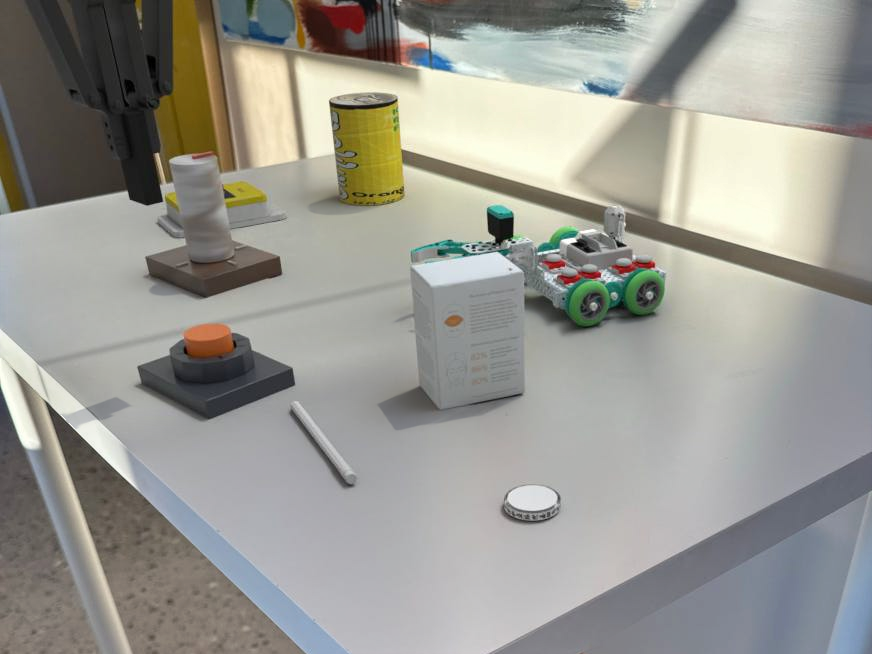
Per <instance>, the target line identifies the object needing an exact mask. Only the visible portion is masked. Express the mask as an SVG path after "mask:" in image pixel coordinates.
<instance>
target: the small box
mask: <svg viewBox="0 0 872 654" xmlns="http://www.w3.org/2000/svg"><path fill="white" fill-rule="evenodd" d="M449 259H450V260H448V259H443V260H444V261H441V260H437V261H438V262H432V263H426V264H425V263H421V264H420V263H419V264H414V265H411V266H410V269H409V272H410V287H411V297H412V309H413V311H412V312H413V323H414V325H413V326H414V335H415V348H416V361H417V362H416V363H417V373H418V383H419V386H420V388H421V389H422V390H423V392H424V393H425V394H426V395H427V396H428V398H430V400H431V401H432V402H433V403H434V405H435V406H436V408H438V410H440V411H442V410H447V409H452V408H458V407H462V406H467V405H472V404H477V403H482V402H486V401H492V400H497V399H501V398H506V397H512V396H515V395H521V394H524V393H525V392H526V381H525V380H526V373H525V372H526V371H525V367H526V365H525V364H526V363H525V359H526V357H525V355H526V354H525V282H524V272H523V271H522V270H521V269H519V268H518V267H517V266H516V265H514V264H513V263H512V262H510V261H509V260H508V259H506V258H505V257H504V256H502V255H501V254H500V253H498V252H493V253H487V254H481V255H478V254H477V255H475V256H469V257H463V258H457V259H452V258H449Z"/></svg>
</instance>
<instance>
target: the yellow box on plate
mask: <svg viewBox="0 0 872 654" xmlns="http://www.w3.org/2000/svg"><path fill="white" fill-rule="evenodd" d="M222 188H223V193H224V199H225V204H226V210H227V215H228V221H229V226H230V230H232V229H239V228H243V227H250V226H255V225H260V224H266V223H271V222H277V221H281V220H282V221H283V220H286V219H287V213H286V211H285V210H284V209H282V208H280V207H279V206H278V205H276V204H274V203H272V202H271V201H269V200H268V197H267V195H266V193H265V192H264V191H262V190H261V189H259V188H257V187H256V186H254V185H252V184H251V183H249V182H248V181H244V180H243V181H235V182H230V183H222ZM164 201H165V207H166V213H164V214H160V215H158V216H156V218H157V223H158V224H159V225H160V226H161V227H162V228H163V229H164V230H165V231H167V232H168V233H169V234H170V235H171V236H172V237H174V238H177V239H178V238H185V236H184V231H183V226H182V221H181V217H180V212H179V207H178V202H177V198H176V193H175V191H173V192H168V193H165V194H164Z"/></svg>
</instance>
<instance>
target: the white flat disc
mask: <svg viewBox="0 0 872 654" xmlns="http://www.w3.org/2000/svg"><path fill="white" fill-rule="evenodd" d="M561 504H562V497H561V495H560V493H559V492H558V491H557V490H555V489H554V488H552V487H550V486H548V485H543V484H537V483H536V484H535V483H534V484H533V483H532V484H522V485H518V486H515V487H512V488H511V489H509V490H508V491H507V492H506V493H505V494H504V497H503V508H504V510H505V512H506V513H507V514H508V515H509V516H511V517H513V518H515V519H518V520H522V521H543V520H546V519H549V518H552V517H553V516H555V515H557V514H558V513H559V512H560V510H561Z"/></svg>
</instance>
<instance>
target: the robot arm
mask: <svg viewBox="0 0 872 654" xmlns="http://www.w3.org/2000/svg"><path fill="white" fill-rule="evenodd" d="M23 1H24V3H25V5H26V8H27V9H28V11H29V13H30V16H31V18H32V20H33V22H34V25H35V27H36V29H37V31H38V33H39V36H40V38H41V40H42V41H43V44H44V46H45V48H46V50H47V52H48V54H49V57H50V59H51V61H52V64H53V66H54V67H55V70H56V72H57V74H58V76H59V78H60V80H61V82H62V84H63V87H64V89H65V91H66V93H67V95H68V97H69V99H70V101H71V102H72V103H73V104H75V105H79V106H82V107H85V108H89V109H93V110H94V111H96V112H97V114H98V115H99V118H100V122H101V126H102V130H103V135H104V137H105V138H104V139H105V143H106V147H107V151H108V153H109V155H110V156H111V158H112V159H115V160H118V161H120V164H121V168H122V173H123V177H124V181H125V185H126V190H127V195H128V199H129V200H130V201H132V202H134V203H138V204H140V205H143V206H147V207H148V206H152V205H156V204H161V203H164V197H163V193H162V188H161V185H160V180H159V174H158V170H157V169H158V168H157V165H156V160H155V155H156V154H160V153H161V148H162V144H161V140H160V139H161V138H160V135H159V131H158V125H157V119H156V115H155V111H156V110H158V109H159V108H160V105H161V99H162V98H164V97H165V96H166V97H167V96H170V95H172V93H174V0H140V4H141V6H140V7H141V8H140V9H141V11H140V12H141V26H140V21H139V15H138V11H137V5H136V2H137V0H66V2H67V3H68V4H69V6H70V8H71V12H72V17H73V22H74V25H75V29H76V33H77V39H78V42H79V46H80V49H79V46H78V45H77V44H78V43H77V42H76V40H75V37H74V35H73V33H72V30H71V29H70V26H69V24H68V22H67V20H66V17H65V16H64V13H63V11H62V9H61V8H62V7H61V6H60V4H59V1H58V0H23ZM80 50H81V51H80ZM123 96H124V97H123ZM124 101H125V102H126V103H127V104H128V106H125V102H124ZM154 154H155V155H154Z"/></svg>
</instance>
